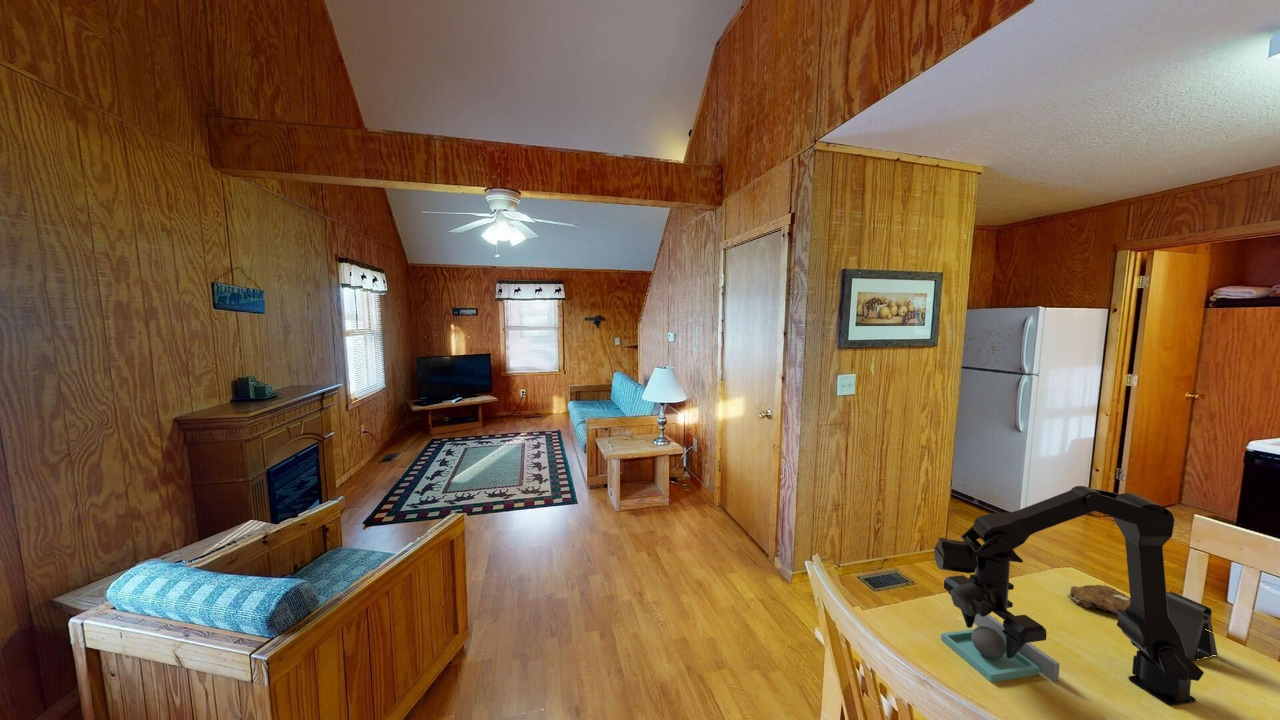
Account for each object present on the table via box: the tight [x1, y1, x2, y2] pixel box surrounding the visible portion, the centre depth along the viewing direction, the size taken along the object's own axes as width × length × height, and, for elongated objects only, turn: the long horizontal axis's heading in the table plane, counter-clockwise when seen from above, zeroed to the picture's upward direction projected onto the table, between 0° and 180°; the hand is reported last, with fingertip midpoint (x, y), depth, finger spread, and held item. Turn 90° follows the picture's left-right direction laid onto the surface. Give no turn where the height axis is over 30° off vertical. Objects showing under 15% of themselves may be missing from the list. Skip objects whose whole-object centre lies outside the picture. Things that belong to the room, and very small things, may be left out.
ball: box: [971, 626, 1006, 659], centre depth 93 cm, size 6×6×6 cm
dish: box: [940, 628, 1040, 683], centre depth 93 cm, size 12×12×2 cm
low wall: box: [973, 614, 1061, 683], centre depth 95 cm, size 18×1×4 cm, turn 8°
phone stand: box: [1166, 590, 1218, 662], centre depth 94 cm, size 9×6×12 cm, turn 100°
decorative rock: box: [1067, 584, 1131, 614], centre depth 110 cm, size 11×4×15 cm
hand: (988, 641), depth 93 cm, fingers open, 9 cm apart
